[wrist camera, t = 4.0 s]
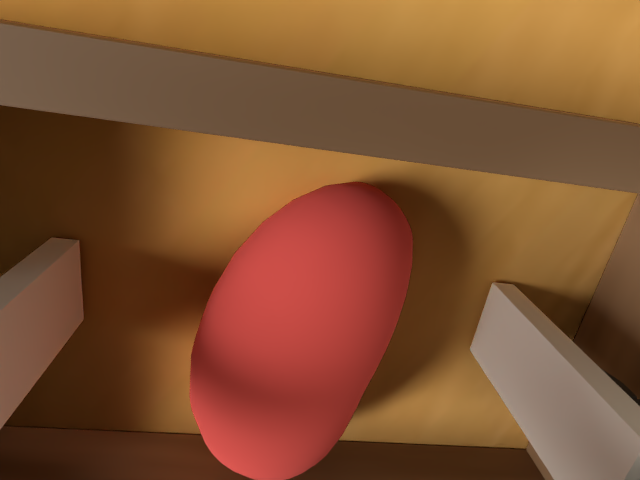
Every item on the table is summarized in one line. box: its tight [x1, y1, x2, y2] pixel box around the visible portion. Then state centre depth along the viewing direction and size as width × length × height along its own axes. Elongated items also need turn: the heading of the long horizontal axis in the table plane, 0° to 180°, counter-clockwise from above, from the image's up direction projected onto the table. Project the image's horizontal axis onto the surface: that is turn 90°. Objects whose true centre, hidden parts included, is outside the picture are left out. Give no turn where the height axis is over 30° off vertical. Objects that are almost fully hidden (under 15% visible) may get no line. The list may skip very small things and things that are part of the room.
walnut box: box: [0, 20, 640, 480], centre depth 11 cm, size 14×23×6 cm, turn 81°
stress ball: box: [190, 182, 413, 480], centre depth 12 cm, size 5×9×6 cm, turn 148°
